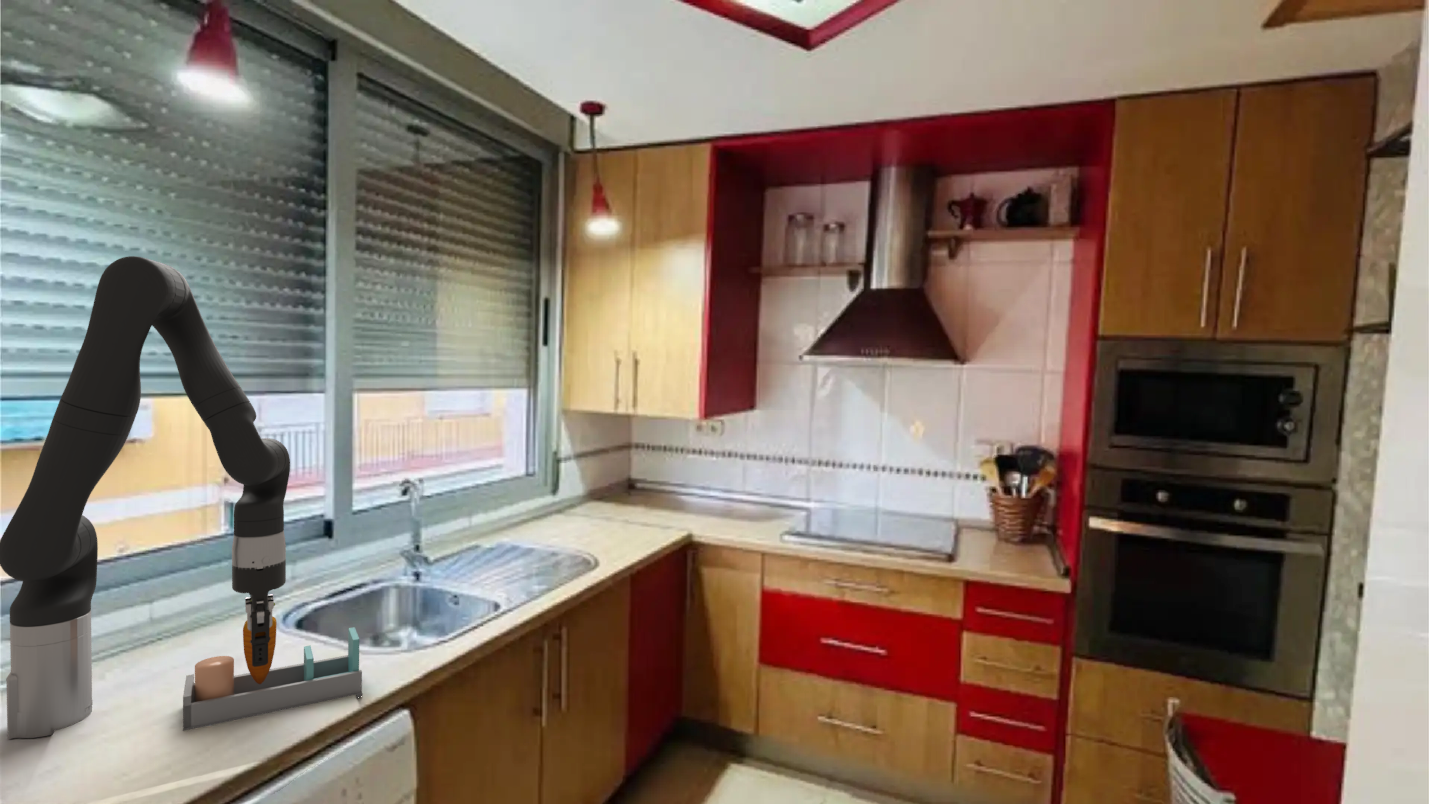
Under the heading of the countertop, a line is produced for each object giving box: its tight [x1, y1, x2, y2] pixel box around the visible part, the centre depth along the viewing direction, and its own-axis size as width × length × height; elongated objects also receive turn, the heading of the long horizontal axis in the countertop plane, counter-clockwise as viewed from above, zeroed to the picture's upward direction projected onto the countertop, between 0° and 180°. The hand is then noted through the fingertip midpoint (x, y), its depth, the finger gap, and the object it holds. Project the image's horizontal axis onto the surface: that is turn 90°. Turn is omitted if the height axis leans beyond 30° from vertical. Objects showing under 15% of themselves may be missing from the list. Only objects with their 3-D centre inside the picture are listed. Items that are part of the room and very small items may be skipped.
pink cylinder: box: [194, 655, 235, 702], centre depth 114 cm, size 5×5×8 cm
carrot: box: [242, 600, 277, 684], centre depth 117 cm, size 5×5×15 cm
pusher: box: [303, 626, 360, 681], centre depth 124 cm, size 8×6×9 cm
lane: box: [182, 654, 363, 732], centre depth 119 cm, size 25×10×6 cm, turn 124°
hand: (259, 658), depth 118 cm, fingers closed on carrot, 4 cm apart
